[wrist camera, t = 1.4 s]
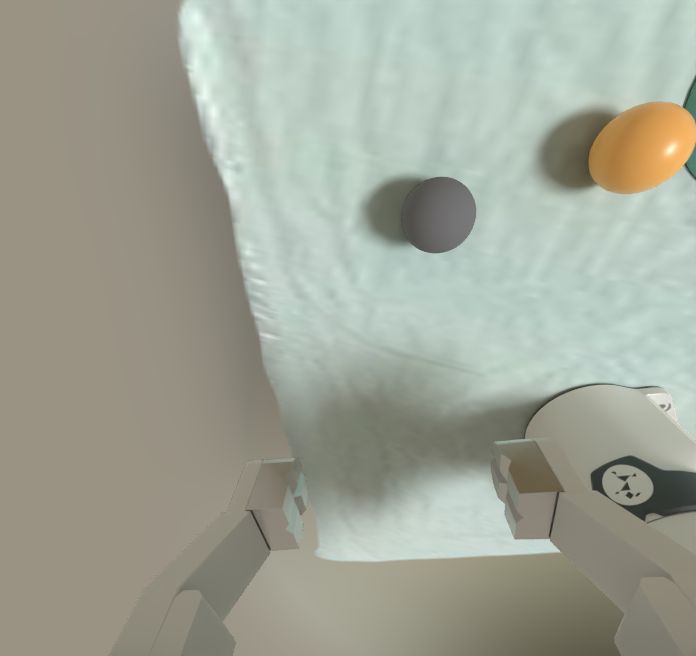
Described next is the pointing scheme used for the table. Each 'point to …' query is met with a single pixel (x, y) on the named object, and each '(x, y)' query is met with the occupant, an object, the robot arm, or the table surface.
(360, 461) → the table surface
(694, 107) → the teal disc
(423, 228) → the dark grey ball
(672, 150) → the orange ball
